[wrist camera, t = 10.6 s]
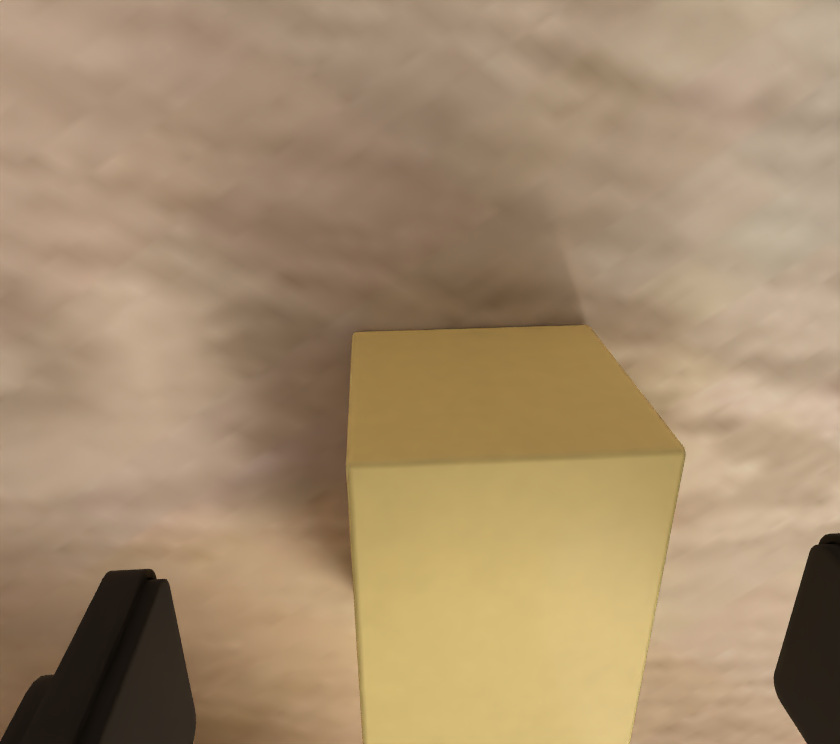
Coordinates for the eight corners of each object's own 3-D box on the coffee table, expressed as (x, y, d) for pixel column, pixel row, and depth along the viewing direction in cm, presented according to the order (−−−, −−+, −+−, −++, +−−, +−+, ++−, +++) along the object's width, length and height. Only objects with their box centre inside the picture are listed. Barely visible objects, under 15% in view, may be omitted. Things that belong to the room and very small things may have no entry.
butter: (351, 329, 11) (344, 464, 8) (589, 322, 12) (689, 450, 8) (365, 603, 14) (365, 798, 10) (559, 592, 14) (625, 779, 11)
